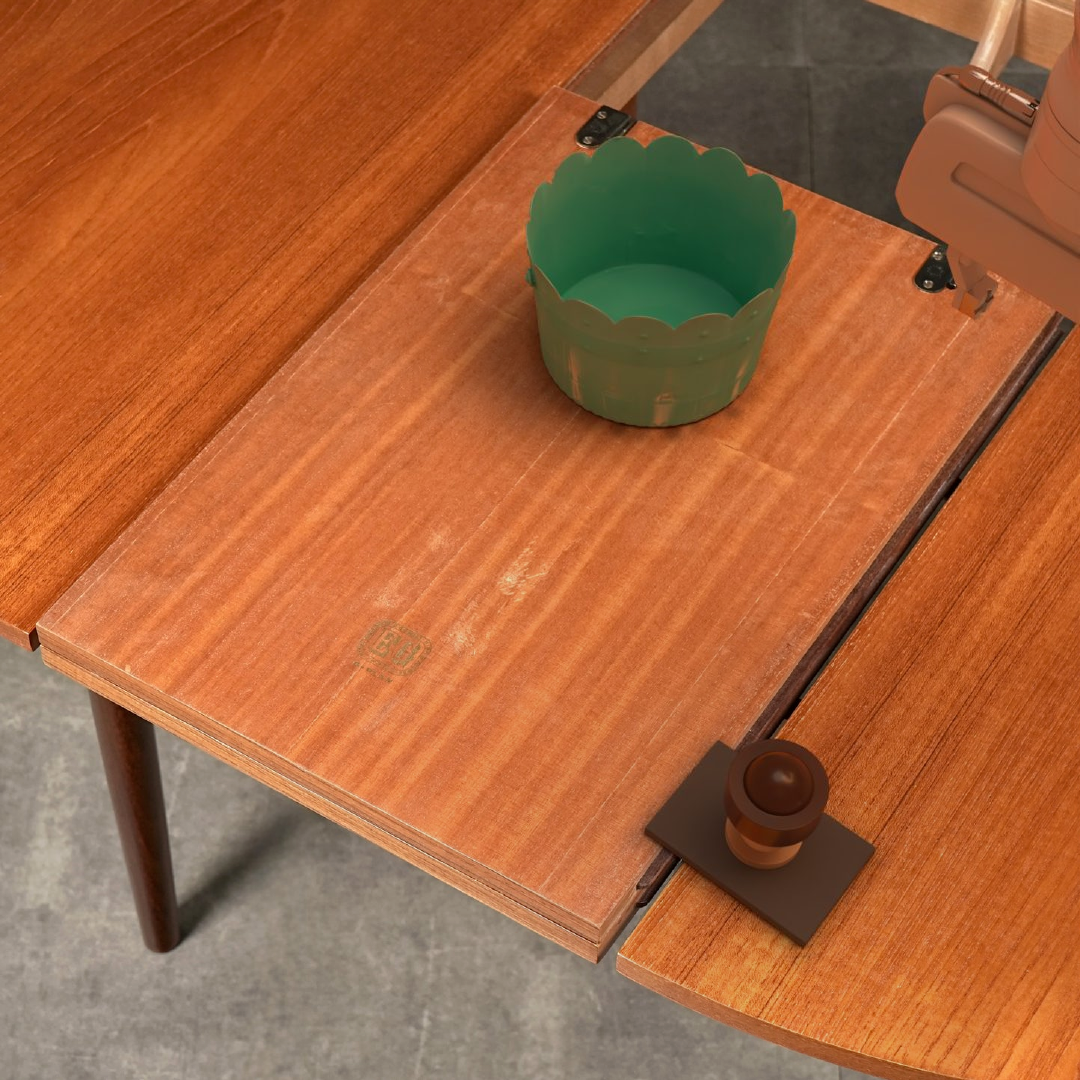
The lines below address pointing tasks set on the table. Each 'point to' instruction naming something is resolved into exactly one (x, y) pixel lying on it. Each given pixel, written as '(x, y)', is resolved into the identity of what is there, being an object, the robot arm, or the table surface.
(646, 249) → the basket
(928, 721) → the table surface
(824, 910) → the front mat
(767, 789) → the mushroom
